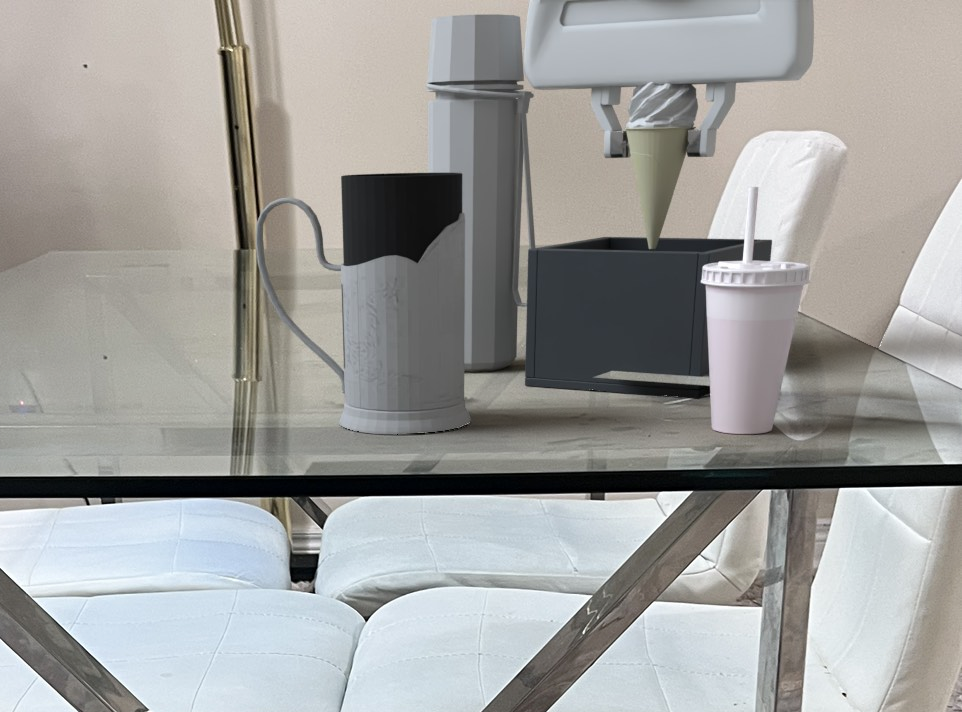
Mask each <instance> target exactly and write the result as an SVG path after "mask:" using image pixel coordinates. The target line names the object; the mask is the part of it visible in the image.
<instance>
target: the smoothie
mask: <svg viewBox="0 0 962 712" xmlns="http://www.w3.org/2000/svg"><path fill="white" fill-rule="evenodd" d="M758 198H759V186H748V192H747V205H746V206H747V207H746V216H745V229H744V239H745V240H744V252H743V261H719V263H711V264H706V265H704V266H703V267H702V280H701V283H703V284H706V309H707V329H708V352H709V374H708V375H709V386H710V394H709V396H710V397H709V399H710V419H711V421H710V422H711V429H712V430H713V431H716V432H719V433H725V434H733V435H755V434H756V435H757V434H765V433H768V432H772V431H773V426H774V422H775V416H776V413H777V408H778V403H779V400H780V395H781V390H782V385H783V381H784V377H785V372H786V367H787V362H788V358H789V355H790V354H789V353H790V349H791V345H792V339H793V335H794V330H795V327H796V321H797V317H798V312H799V308H800V303H801V299H802V294H803V289H804V285H808V284H809V283H810V282H811V281H810V271H811V270H810V269H811V266H810V265H809V264H807V263H802V262H793V261H778V260H777V261H774V260H770V261H752V257H753V246H754V239H755V233H756V221H757V210H758Z"/></svg>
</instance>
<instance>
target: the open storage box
mask: <svg viewBox="0 0 962 712" xmlns="http://www.w3.org/2000/svg"><path fill="white" fill-rule="evenodd" d="M744 240H745V238H702V237H701V238H700V237H699V238H697V237H696V238H695V237H694V238H693V237H689V238H688V237H659V240H658V243H657V247H656V249H649V246H648V241H647V237H643V236H642V237H641V236H639V237H635V236H602V237H595V238H589V239H588V238H587V239H583V240H575V241H570V242H565V243H557V244H551V245H545V246H539V247H535V248H532V249H529V248H528V250H527V280H526V281H527V285H526V286H527V287H526V301H527V306H526V325H525V327H526V328H525V330H526V331H525V362H524V363H525V367H524V368H525V370H524V371H525V372H524V386H526V387H539V388H551V389H563V390H577V391H590V390H592V389H593V390H600V391H599V392H603V391H606V392H605V393H619V394H630V395H644V396H656V395H657V396H658V397H665V396H664V395H667V396H666V397H669V396H678V397H677V398H683V397H687V398H686V399H697V400H698V399H701V398H703V397H705V396H708V395H710V385H705V384H693V383H677V382H676V383H675V382H664V381H651V380H650V381H648V380H637V379H636V380H634V379H620V378H619V379H618V378H607V377H598V376H602V375H604V374H607V373H609V372H625V373H637V374H650V375H651V374H653V375H667V376H668V375H669V376H680V377H681V376H682V377H697V378H701V377H703V376H706V375H709V352H708V329H707V309H706V284H703V283H701V280H702V267H703V266H704V265H706V264H711V263H719V261H743V252H744ZM772 246H773V240H772V239H759V238H758V239H755V238H754V246H753V257H752V261H772V260H771V259H772V248H773V247H772ZM586 389H587V390H586ZM589 389H590V390H589ZM662 395H663V396H662Z"/></svg>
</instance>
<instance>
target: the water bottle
mask: <svg viewBox="0 0 962 712" xmlns="http://www.w3.org/2000/svg"><path fill="white" fill-rule="evenodd" d="M430 26H431V27H430V37H429V49H428V50H429V52H428V63H427V75H426V86H425V87H426V92H428V93H435V99H433V100H431V101H429V102H427V173H462V213H464V214H465V337H464V373H465V372H467V373H468V372H471V373H474V372H476V373H477V372H491V371H496V370H497V371H498V370H502V369H504V368H506V367H508V366H509V365H512V364H513V362H514V361H515V359H517V355H518V354H517V351H518V313H519V311H518V309H519V308H518V307H521V308H522V307H523V308H524V307H525V308H526V307H527V300H526V302H523V301H522V299H521V295H520V291H519V274H520V252H521V250H520V249H521V229H522V228H521V227H522V225H521V224H522V203H523V202H522V201H523V199H522V198H523V176H524V183H525V184H524V187H525V199H526V200H525V202H526V203H525V204H526V216H527V217H526V219H527V229H528V231H527V232H528V250H529V249H532V248H536V237H535V235H536V234H535V223H534V207H533V193H532V179H531V178H532V177H531V164H530V163H531V162H530V151H529V150H530V149H529V135H528V121H527V114H529V113H528V112H529V108H530V102H531V99H534V97H535V95H534V93H533V92H532V91H528V90H524V87H525V86H524V84H518V82H524V81H525V72H524V55H523V42H522V25H521V16H519V15H515V14H500V13H499V14H498V13H497V14H492V13H491V14H459V15H447V16H437V17H434V18H431V25H430ZM523 173H524V175H523Z"/></svg>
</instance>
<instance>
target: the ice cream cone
mask: <svg viewBox="0 0 962 712" xmlns="http://www.w3.org/2000/svg"><path fill="white" fill-rule="evenodd" d="M698 103H699V102H698V97H697V88H696V87H695V86H694V84H693V85H692V84H670V83H665V84H661V85H656V84H654V82H650V83H648V84H647V85H640V86H637V87H634V89H633V91H632V98H631V99H629V103H628V108H627V111H628V115H629V120H628V122H627V123H626V124H625V128H624V129H623V131H626V132H627V137H628V143H629V148H630V154H631V156H630V160H631V164H632V169H633V174H634V179H635V184H636V190H637V195H638V200H639V205H640V210H641V215H642V220H643V225H644V230H645V235H646V238H647V241H648V246H649V249H656V247H657V243H658V240H659V238H661V234H662V230H663V227H664V224H665V221H666V218H667V215H668V212H669V209H670V206H671V203H672V199H673V196H674V193H675V190H676V187H677V184H678V180H679V178H680V174H681V170H682V168H683V164H684V163H685V162H684V161H685V158H686V156H687V146H688V145H689V142H688V140H687V139H688V130H695V129H697V127H696V126H694V125H695V121H696V118H697V114H698V111H699V104H698Z"/></svg>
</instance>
